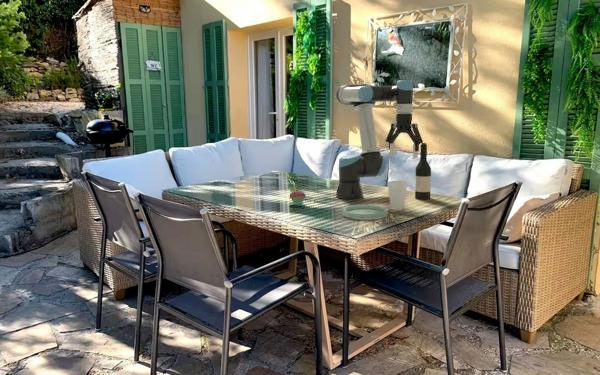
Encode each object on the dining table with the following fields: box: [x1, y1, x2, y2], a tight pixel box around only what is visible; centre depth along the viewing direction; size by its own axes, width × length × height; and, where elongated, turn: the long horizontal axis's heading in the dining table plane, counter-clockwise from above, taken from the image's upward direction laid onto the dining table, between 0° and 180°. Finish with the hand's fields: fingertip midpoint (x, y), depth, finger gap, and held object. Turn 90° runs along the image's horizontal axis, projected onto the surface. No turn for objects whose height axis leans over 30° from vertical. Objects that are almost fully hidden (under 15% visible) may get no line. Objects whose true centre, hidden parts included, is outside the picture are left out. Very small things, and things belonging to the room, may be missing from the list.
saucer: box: [342, 204, 389, 221], centre depth 209 cm, size 20×20×2 cm
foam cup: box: [387, 180, 408, 211], centre depth 220 cm, size 10×9×13 cm
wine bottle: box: [414, 142, 432, 201], centre depth 242 cm, size 8×8×30 cm
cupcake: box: [289, 182, 307, 206], centre depth 235 cm, size 9×8×12 cm
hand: (403, 157), depth 219 cm, fingers open, 13 cm apart
